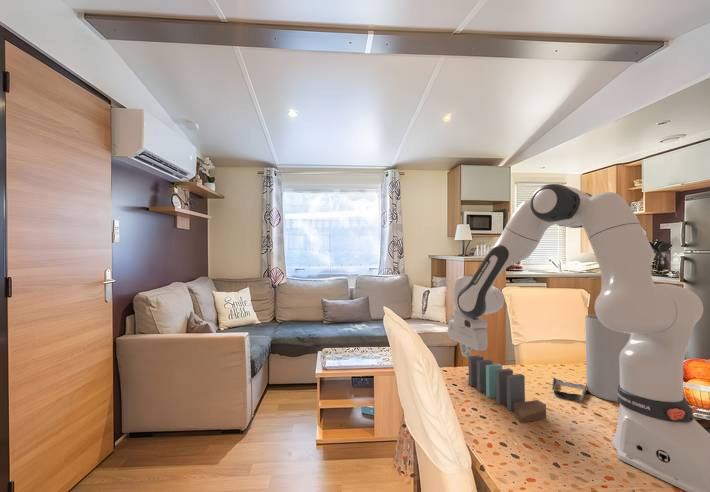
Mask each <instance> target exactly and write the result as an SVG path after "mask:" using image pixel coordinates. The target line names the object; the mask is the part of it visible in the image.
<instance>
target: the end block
mask: <svg viewBox="0 0 710 492" xmlns="http://www.w3.org/2000/svg"><path fill="white" fill-rule="evenodd" d="M513 412H514V418H515V420H517V421H519V422H521V423H523V424H524V423H530V422H535V421H542V420H546V419H547V404H545V402H542V401H541V400H539V399H534V400H528V401H527V400H526V401H525V402H520V403H514V411H513Z"/></svg>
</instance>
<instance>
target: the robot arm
mask: <svg viewBox="0 0 710 492" xmlns="http://www.w3.org/2000/svg"><path fill="white" fill-rule="evenodd" d="M554 225H556V226H559V227H565V228H572V229H574V228H575V229H579V228H583V229H584V231H585V233H586V236H587V239H588V241H589V243H590V245H591V248H592V252H593V253H594V256H595V259H596V261H597V263H598V267H599V271H600V279H601V280H600V281H601V284H600V285H601V286H600V293H599V294H598V295H597V297H596V299H595V301H594V313H595V315H596V316H597V318H598V319H599V321H600V322H601V323H602V324H603V325H604V326H605V327H607V328H608V329H610V330H613V331H617V332H622V333H628V334H631V336H630V339H629V341H628V343H627V344H626V346H625V347H624V348H623V349H622V350H621V352H620V355H619V368H620V384H619V385H618V402H617V403H618V405H619V408H618V409H619V411H618V418H617V425H616V429H615V433H614V436H613V439H612V442H611V443H612V446H613V447H614V449H615V450H616V452H617V459H619V460H620V461H621V462H625V463H626V464H629V465H631V466H632V467H634V468H637V469H639V470H641V471H643V472H645V473H648V474H649V475H651V476H652V477H656V479H657V478H658V479H660V480H662V481H664V482H666V483H668V484H670V485H672V486H675V487H677V488H679V489H680V490H683V491H685V492H710V432H708V431H707V429H705V428H704V427H703V426H702V425H701V424H700V423H699V422H698V421H697V420H696V419H695V415H694V414H695V413H699V412H700V411H699V410H698V409H700V408H699V406H694V407H693V406H692V407H691V406H690V405H689V403H688V401H687V400H686V398H685V397H684V365H685V364H684V363H685V358H686V357H685V356H686V353H687V350H688V346H689V343H690V339H691V336H692V333H693V329H694V328H695V325H696V324H697V323H698V322H699V321H700V320H701V318H702V316H703V314H704V304H703V302H702V300H701V299H700V297H699V296H698V295H697V294H696V293H695V292H693V291H692V290H690V289H688V288H685V287H682V286H679V285H674V284H671V283H669V284H668V283H655V282H654V281H653V275H652V268H651V267H652V262H653V260H654V259H655V251H654V250H653V249H654V248H653V247H652V245H651V243H650V241H649V239H648V237H647V234H646V233H645V231H644V229H643V227H642V225H641V222H640V221H639V219H638V217H637V215H636V214H635V212H634V211H633V210H632V208H631V206H629V204H628V203H627V202H626V200H625V199H624V198H623V197H622V196H621V195H620V194H618V193H615V192H610V191H608V192H600V193H596V194H593V195H592V194H591V193H588V192H585V191H582V190H580V189H578V188H575V187H571V186H568V185H567V186H566V185H563V184H559V183H549V184H545V185H541V186H540V187H538V188H537V189H536V190H535V191H534V192H533V194H532V196H531V198H530V199H525V200H523V201H522V202H521V203H520V204H519V205H518V206H517V208H516V209H515V210H514V211H513V213H512V214H511V216H510V217H509V219H508V221H507V223H506V225H505V226H504V229H503V230H502V233H501V234H500V236H499V237H498V239H497V241H496V242H495V244H494V245H493V246H492V248H491V249H490V251H488V253H487V254H486V256H485V257H484V259H483V260H482V262H481V263H480V265H479V267H478V269H477V270H476V272H475V273H474V275H471V274H470V275H460V276H458V277H456V278H455V279H454V283H453V288H452V289H453V290H452V293H453V295H452V296H453V297H452V299H453V303H454V306H453V309H452V310H453V311H452V313H453V314H452V315H451V316H450V317H449V320H448V325H447V336H448V338H449V339H450V340H453V341H455V342H456V343H459V348H460V350H461V355H462V356H463V357H464V358H467V359H468V356H472V355H471V353H472V351H473V350H474V351H477V352H482V351H483V352H485V351H486V350H487V349H488V344H489V342H488V339H489V338H488V330H487V329H488V326H489V325H488V321H486V320H485V319H484V318H483V317H482V316H485V315H489V314H495V313H498V312H500V311H501V310H502V309H503V308H504V306H505V302H506V301H505V300H506V298H505V295H504V293H503V291H502V290H501V289H500V288H499V287H496V286H494V284H495V282H496V280H497V279H498V277H499V276H500V275H501V273H502V272H503V271H505V270H506V269H507V268H509V267H510V266H512V265H514V264H517V263H519V262H521V261H524V260H526V259H528V258H529V257H530V256H531V255H532V254H533V252H534V251H535V250H536V248H537V247H538V245H539V243H540V241H541V240H542V238H543V236H544V234H545V232H547V230H548V229H549V228H550V227H552V226H554Z"/></svg>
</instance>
